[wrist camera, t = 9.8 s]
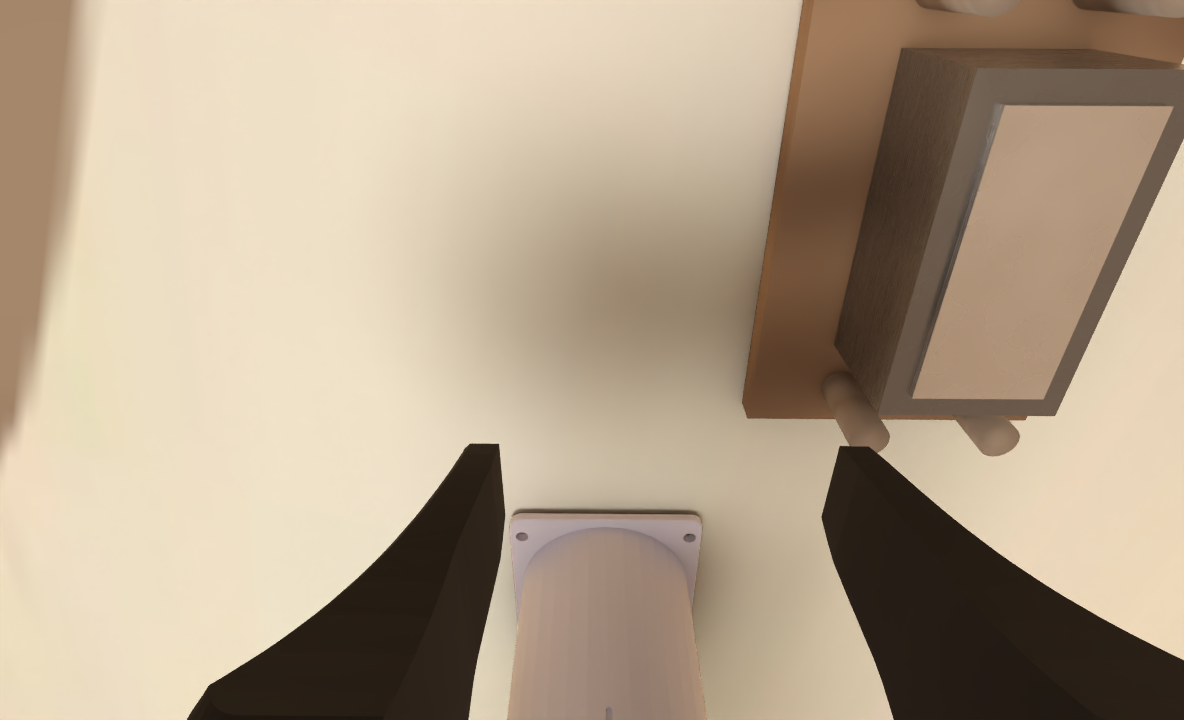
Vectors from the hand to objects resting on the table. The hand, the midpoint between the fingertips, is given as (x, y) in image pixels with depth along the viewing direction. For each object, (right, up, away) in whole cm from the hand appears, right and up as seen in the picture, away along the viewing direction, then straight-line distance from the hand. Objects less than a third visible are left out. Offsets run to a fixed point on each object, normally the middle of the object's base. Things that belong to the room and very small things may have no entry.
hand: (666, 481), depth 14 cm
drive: (+9, +7, +6) cm, 13 cm away
